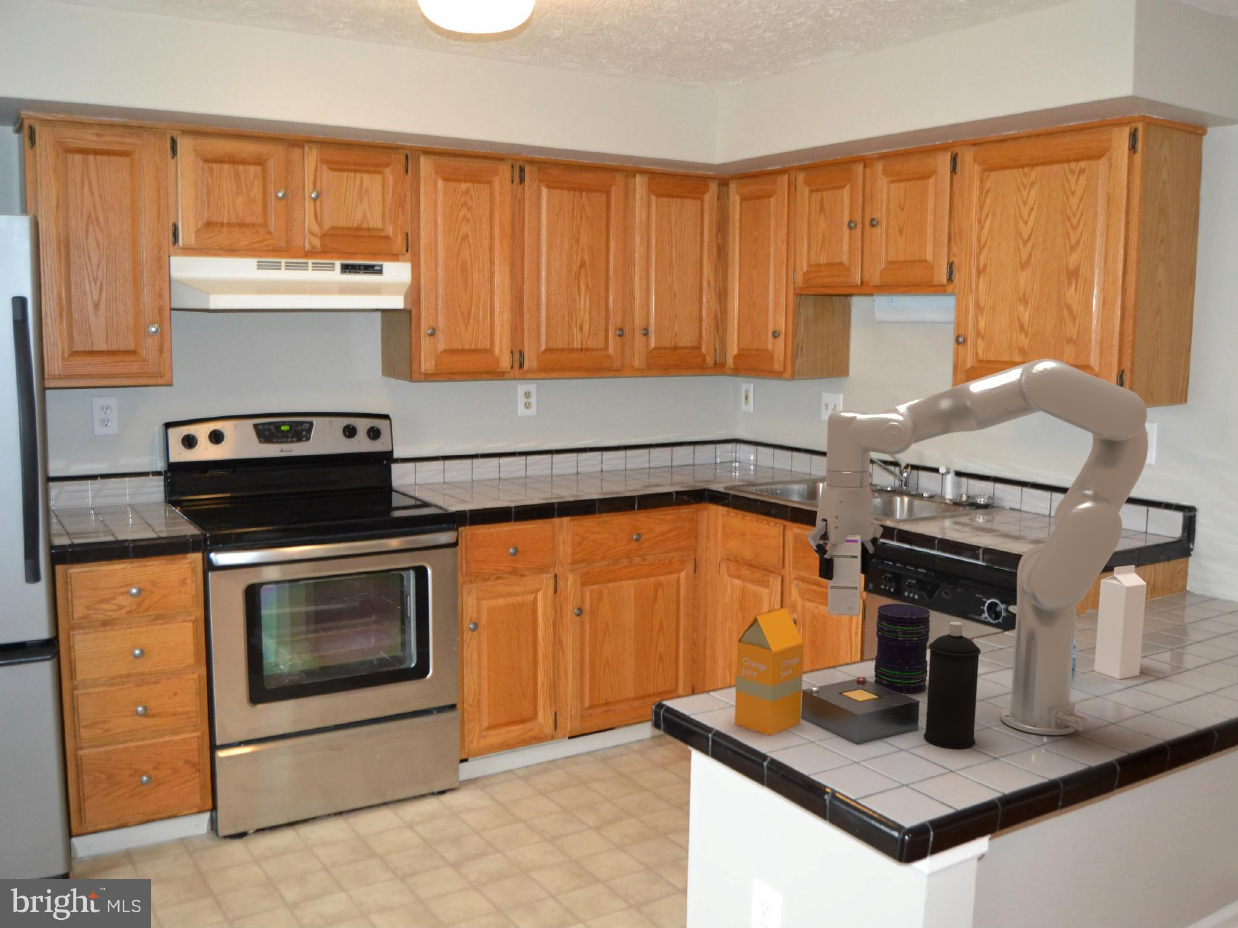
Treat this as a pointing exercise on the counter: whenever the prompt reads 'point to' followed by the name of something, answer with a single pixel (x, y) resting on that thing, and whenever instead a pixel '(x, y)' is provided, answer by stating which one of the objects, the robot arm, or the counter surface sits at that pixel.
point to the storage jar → (902, 648)
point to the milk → (1120, 624)
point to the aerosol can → (952, 690)
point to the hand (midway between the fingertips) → (844, 575)
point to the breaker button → (860, 695)
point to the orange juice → (769, 673)
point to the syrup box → (846, 578)
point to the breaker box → (860, 710)
